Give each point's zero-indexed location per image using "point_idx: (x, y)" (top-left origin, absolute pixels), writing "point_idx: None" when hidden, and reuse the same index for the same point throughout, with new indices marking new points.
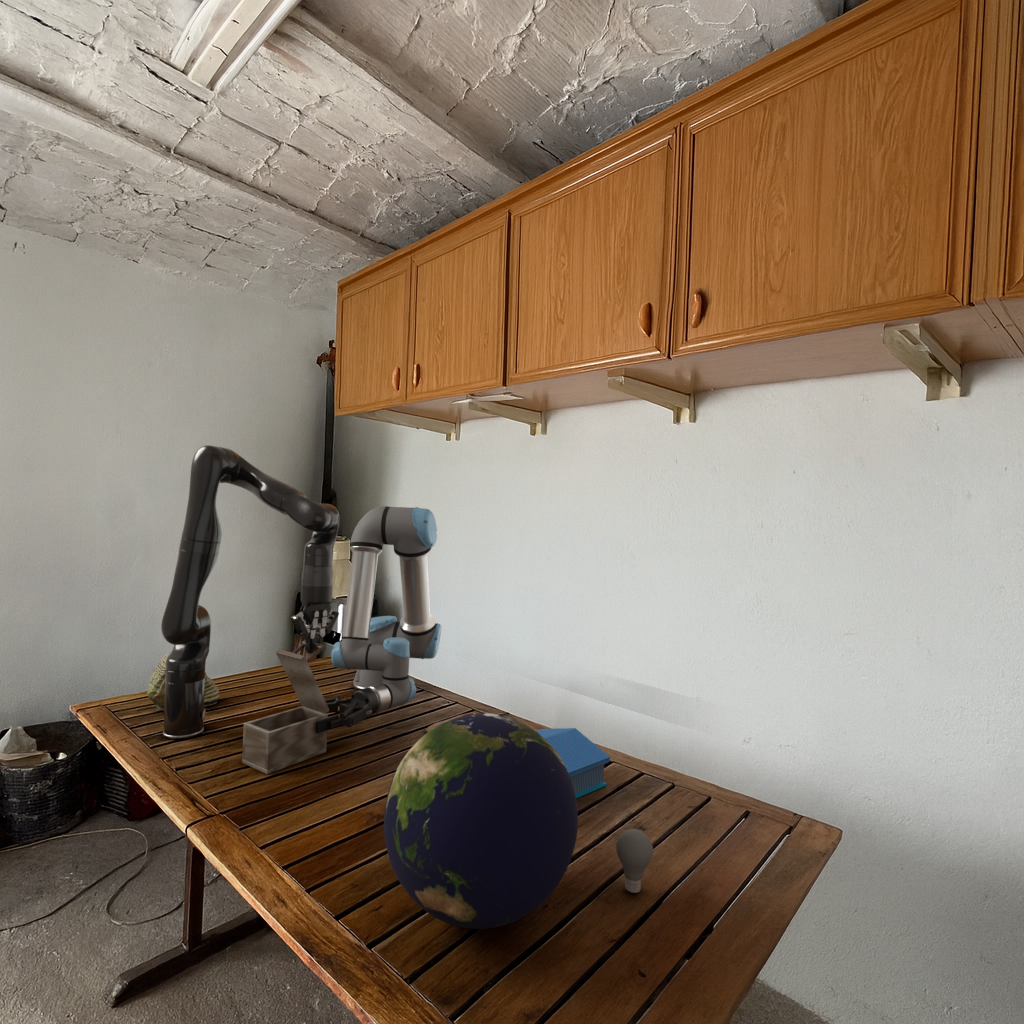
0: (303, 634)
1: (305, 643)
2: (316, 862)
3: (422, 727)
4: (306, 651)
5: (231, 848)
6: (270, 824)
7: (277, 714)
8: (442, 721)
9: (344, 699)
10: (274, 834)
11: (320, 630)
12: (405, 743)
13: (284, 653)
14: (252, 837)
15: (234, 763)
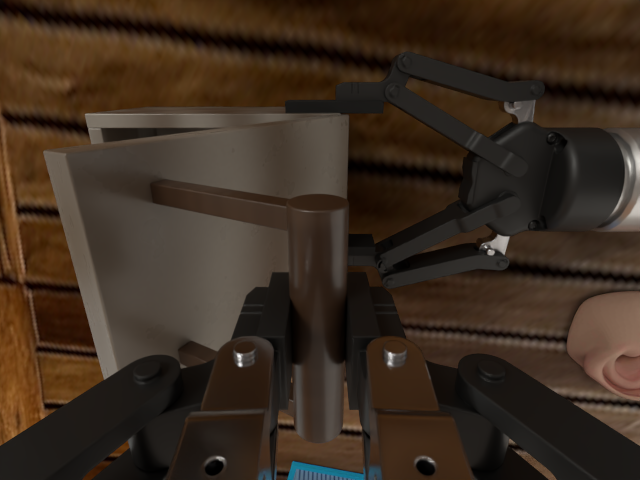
0: (126, 458)
1: (238, 323)
2: (91, 470)
3: (608, 274)
4: (273, 274)
5: (8, 380)
6: (82, 369)
7: (217, 126)
8: (635, 328)
9: (507, 155)
10: (75, 393)
11: (365, 472)
12: (489, 310)
13: (74, 258)
14: (44, 378)
15: (131, 93)
